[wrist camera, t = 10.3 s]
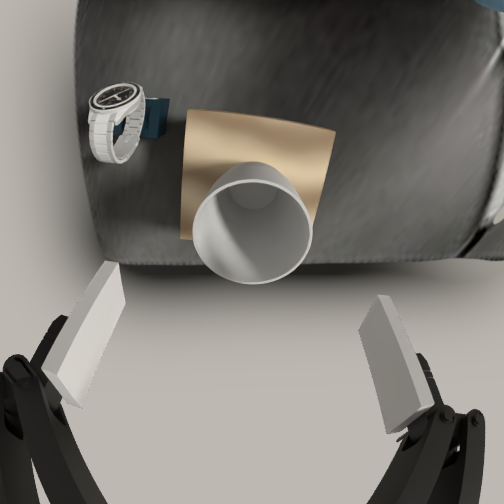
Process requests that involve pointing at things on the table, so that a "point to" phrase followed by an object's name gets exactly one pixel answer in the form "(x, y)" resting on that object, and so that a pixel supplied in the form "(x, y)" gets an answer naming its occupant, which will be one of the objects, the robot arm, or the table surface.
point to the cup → (252, 225)
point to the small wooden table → (250, 155)
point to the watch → (124, 120)
